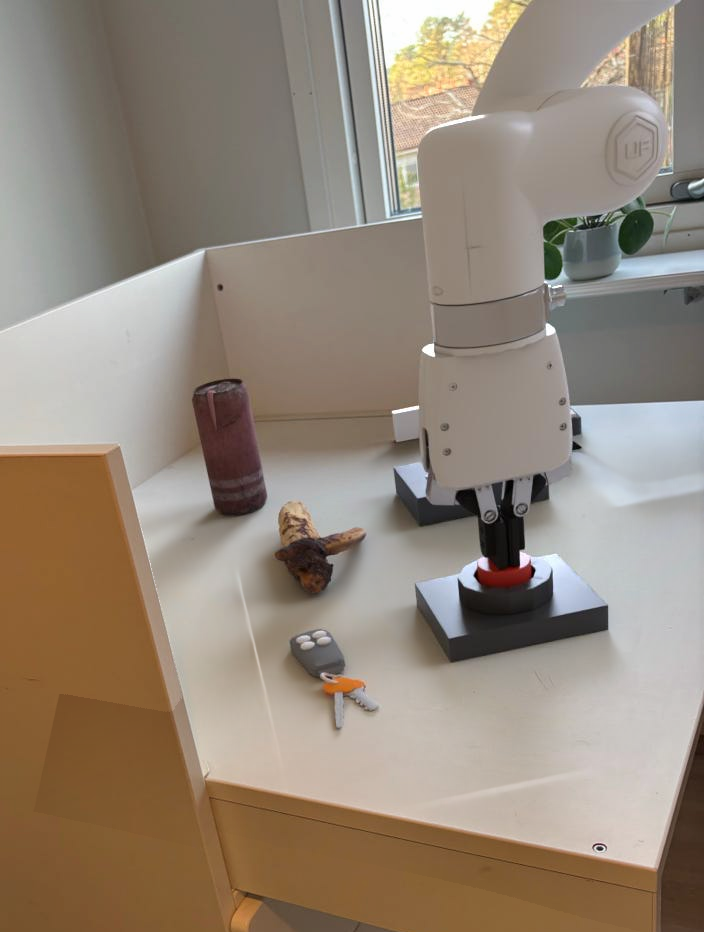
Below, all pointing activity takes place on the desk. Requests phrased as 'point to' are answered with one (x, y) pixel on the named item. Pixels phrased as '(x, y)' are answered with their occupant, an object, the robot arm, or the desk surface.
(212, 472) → the can
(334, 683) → the key chain
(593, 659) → the desk surface
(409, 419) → the eraser
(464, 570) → the button base
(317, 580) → the brown gnarled root
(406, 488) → the dial panel
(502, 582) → the power button
